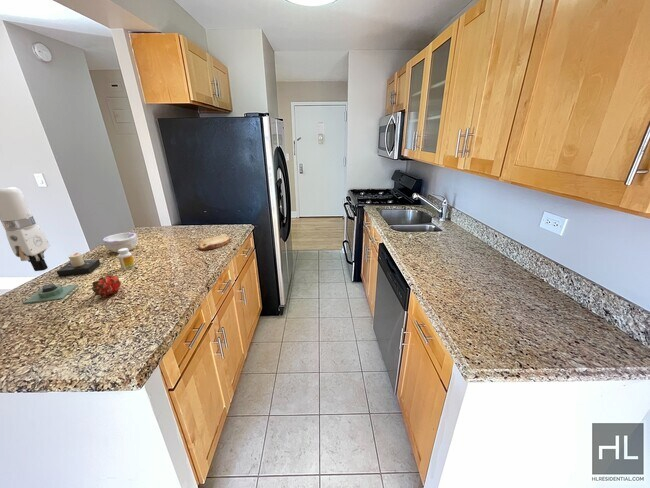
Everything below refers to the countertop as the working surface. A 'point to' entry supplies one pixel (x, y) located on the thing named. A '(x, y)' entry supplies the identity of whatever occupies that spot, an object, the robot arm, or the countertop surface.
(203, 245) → the bread slice
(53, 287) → the button
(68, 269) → the panel
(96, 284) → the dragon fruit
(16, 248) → the robot arm
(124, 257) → the supplement bottle
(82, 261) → the knob
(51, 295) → the button box
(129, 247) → the paper bowls
